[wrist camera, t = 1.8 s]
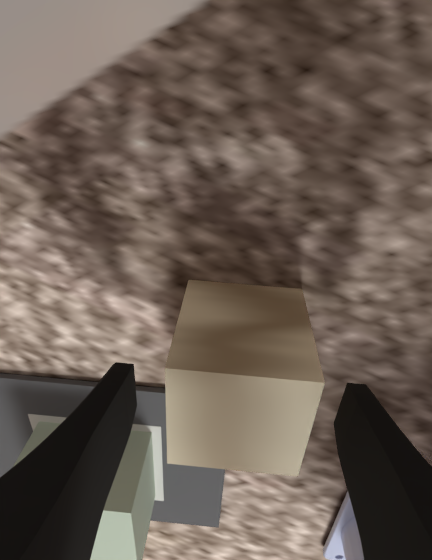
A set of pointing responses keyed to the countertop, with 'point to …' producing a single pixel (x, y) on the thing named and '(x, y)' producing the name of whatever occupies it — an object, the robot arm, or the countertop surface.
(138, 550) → the sage block
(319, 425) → the countertop surface
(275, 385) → the birch block
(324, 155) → the countertop surface
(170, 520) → the mat
